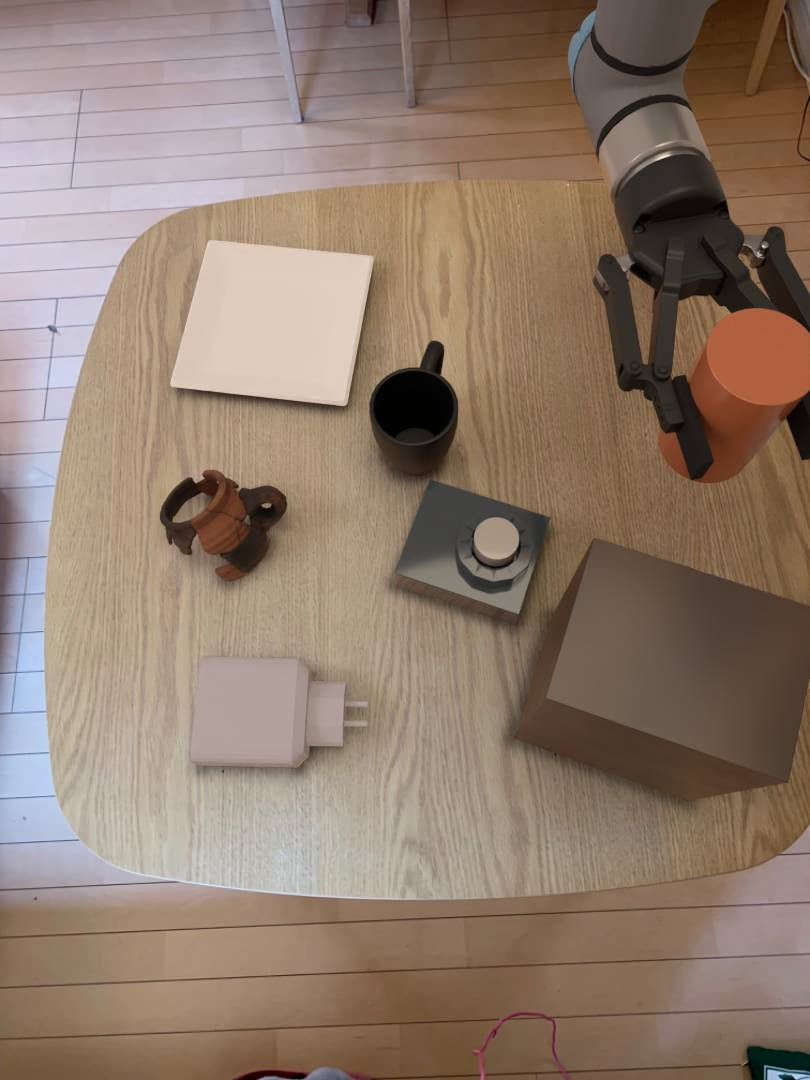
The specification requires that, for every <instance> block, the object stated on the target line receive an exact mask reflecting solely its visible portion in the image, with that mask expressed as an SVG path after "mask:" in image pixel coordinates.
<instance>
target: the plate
mask: <svg viewBox="0 0 810 1080" xmlns="http://www.w3.org/2000/svg"><path fill="white" fill-rule="evenodd" d="M374 261H375V257H374V256H373V255H370V254H358V253H349V252H348V253H347V252H338V251H330V250H329V251H328V250H317V249H307V248H297V247H287V246H278V245H266V244H256V243H247V242H237V241H225V240H216V239H209V240H208V241H207V243H206V246H205V251H204V253H203V258H202V261H201V266H200V269H199V273H198V277H197V281H196V284H195V289H194V292H193V297H192V300H191V304H190V307H189V310H188V314H187V318H186V322H185V325H184V330H183V334H182V337H181V340H180V345H179V348H178V352H177V355H176V360H175V364H174V367H173V371H172V374H171V378H170V383H169V385H170V387H171V388H178V389H189V390H197V391H206V392H215V393H223V394H232V395H240V396H250V397H259V398H269V399H278V400H287V401H295V402H303V403H304V402H305V403H314V404H323V405H330V406H331V405H332V406H341V407H345V406H346V405H348V402H349V396H350V391H351V386H352V380H353V374H354V370H355V365H356V359H357V353H358V348H359V342H360V338H361V332H362V325H363V321H364V316H365V310H366V304H367V299H368V293H369V288H370V284H371V277H372V273H373V267H374V263H375V262H374Z"/></svg>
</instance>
